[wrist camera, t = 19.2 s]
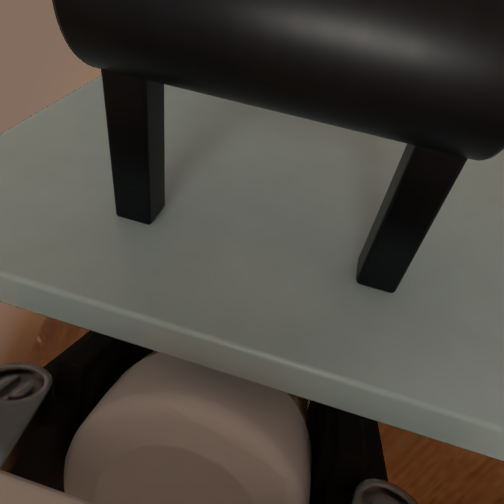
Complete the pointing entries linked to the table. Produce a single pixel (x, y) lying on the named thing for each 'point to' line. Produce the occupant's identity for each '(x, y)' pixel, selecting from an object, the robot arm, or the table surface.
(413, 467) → the table surface
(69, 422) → the robot arm
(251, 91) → the lid
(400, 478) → the table surface
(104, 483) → the sprinkles bottle
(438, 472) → the table surface
